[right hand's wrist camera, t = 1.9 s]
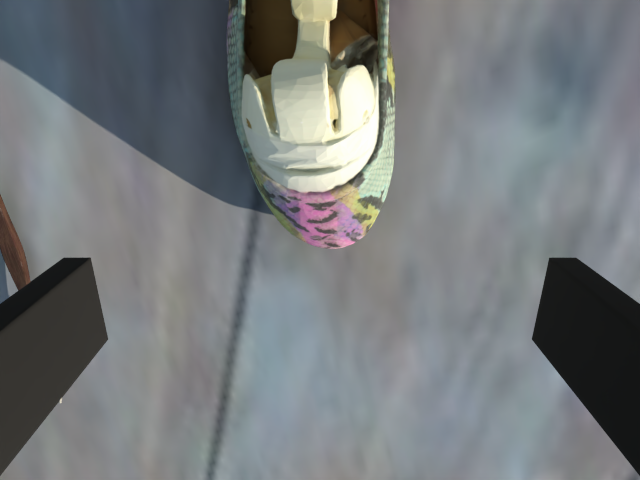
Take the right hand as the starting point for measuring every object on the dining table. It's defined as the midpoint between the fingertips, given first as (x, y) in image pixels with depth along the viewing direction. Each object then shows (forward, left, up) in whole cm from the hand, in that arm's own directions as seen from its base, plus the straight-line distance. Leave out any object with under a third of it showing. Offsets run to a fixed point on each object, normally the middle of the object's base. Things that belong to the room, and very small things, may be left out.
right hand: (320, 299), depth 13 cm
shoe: (+2, +9, -14) cm, 16 cm away
